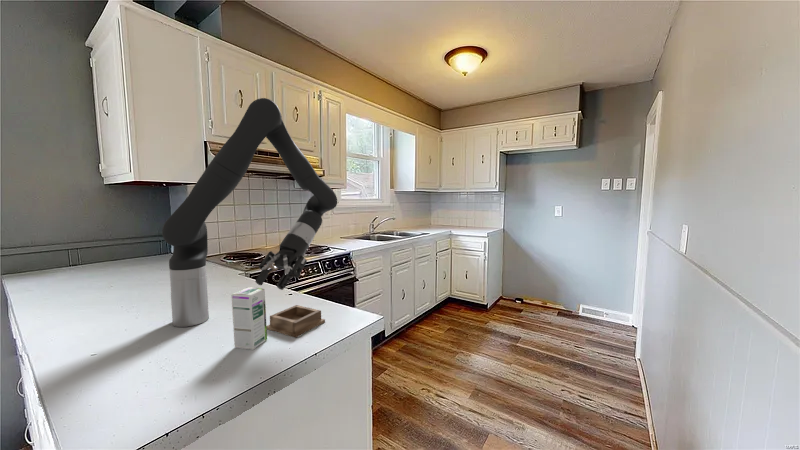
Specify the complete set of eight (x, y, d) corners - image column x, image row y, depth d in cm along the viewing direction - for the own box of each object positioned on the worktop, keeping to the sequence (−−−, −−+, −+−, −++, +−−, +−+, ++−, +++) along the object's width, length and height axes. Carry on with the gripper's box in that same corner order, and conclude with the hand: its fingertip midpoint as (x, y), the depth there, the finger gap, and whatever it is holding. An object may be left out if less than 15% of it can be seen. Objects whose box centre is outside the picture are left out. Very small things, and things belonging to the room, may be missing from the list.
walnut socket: (265, 328, 89) (265, 316, 89) (296, 314, 100) (296, 303, 100) (295, 337, 84) (295, 324, 84) (325, 321, 95) (324, 310, 94)
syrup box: (253, 350, 77) (251, 294, 76) (233, 347, 78) (230, 293, 77) (267, 339, 83) (265, 288, 81) (248, 337, 84) (246, 286, 83)
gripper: (274, 231, 94) (242, 275, 85) (309, 234, 88) (278, 282, 79) (288, 245, 100) (259, 289, 91) (322, 249, 93) (294, 296, 84)
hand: (268, 286), depth 85 cm, fingers open, 8 cm apart
